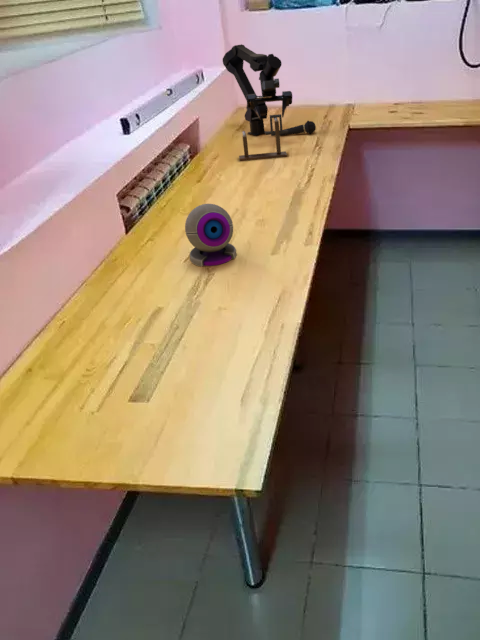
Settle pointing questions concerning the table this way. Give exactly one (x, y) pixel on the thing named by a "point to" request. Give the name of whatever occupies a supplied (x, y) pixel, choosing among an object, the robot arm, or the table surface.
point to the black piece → (272, 125)
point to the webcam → (210, 235)
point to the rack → (263, 155)
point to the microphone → (300, 129)
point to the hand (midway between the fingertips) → (271, 117)
